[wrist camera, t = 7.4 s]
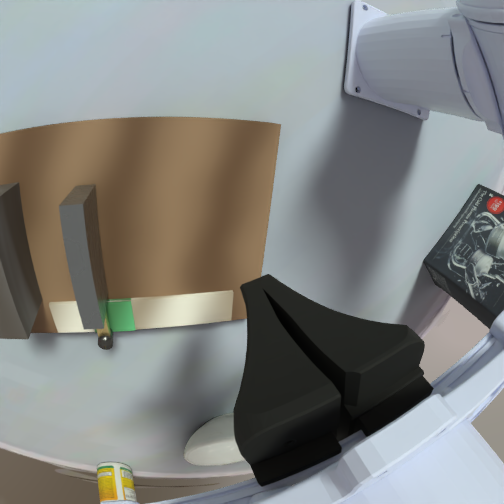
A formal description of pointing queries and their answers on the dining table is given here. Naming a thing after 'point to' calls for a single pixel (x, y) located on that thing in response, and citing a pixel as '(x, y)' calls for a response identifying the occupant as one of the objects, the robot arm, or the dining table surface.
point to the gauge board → (136, 219)
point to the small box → (473, 256)
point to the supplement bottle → (115, 482)
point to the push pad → (86, 260)
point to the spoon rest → (214, 443)
